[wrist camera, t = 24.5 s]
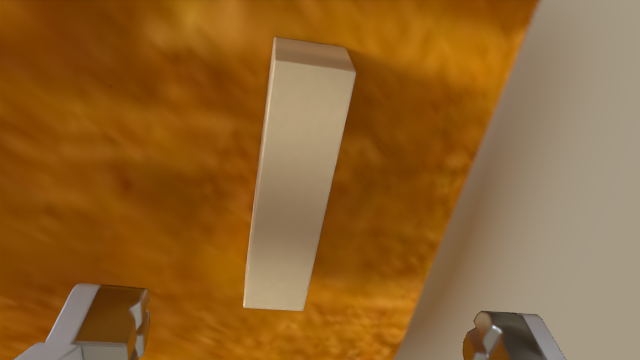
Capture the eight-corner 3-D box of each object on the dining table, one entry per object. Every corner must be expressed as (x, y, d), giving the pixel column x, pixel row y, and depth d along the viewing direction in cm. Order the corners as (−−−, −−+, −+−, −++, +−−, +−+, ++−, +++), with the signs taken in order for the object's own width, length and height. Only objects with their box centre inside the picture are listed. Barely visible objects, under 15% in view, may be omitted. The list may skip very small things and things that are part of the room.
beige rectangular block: (274, 36, 15) (274, 59, 13) (346, 47, 15) (357, 71, 13) (246, 265, 20) (243, 308, 18) (300, 269, 20) (303, 311, 18)
